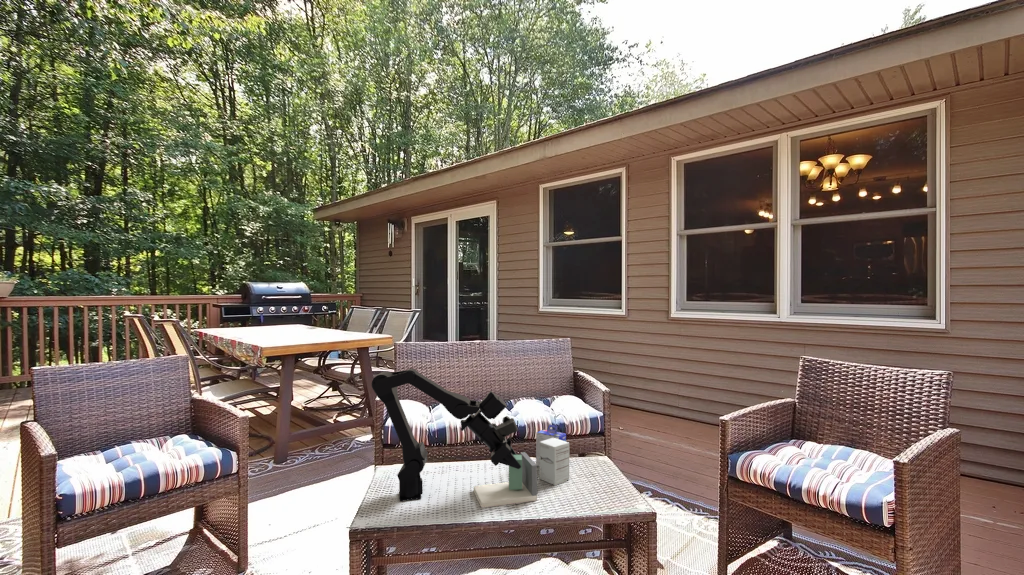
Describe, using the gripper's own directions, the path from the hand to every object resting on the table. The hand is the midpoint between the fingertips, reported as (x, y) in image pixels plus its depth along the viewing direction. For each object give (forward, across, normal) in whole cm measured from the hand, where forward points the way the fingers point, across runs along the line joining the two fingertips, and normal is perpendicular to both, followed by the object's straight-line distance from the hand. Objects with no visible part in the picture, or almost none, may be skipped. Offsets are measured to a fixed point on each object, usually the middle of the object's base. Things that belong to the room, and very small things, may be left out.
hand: (519, 464), depth 145 cm
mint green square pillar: (+4, 0, +6) cm, 7 cm away
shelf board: (+3, -1, +10) cm, 10 cm away
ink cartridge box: (+15, +22, -2) cm, 27 cm away
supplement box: (+15, +11, -2) cm, 18 cm away
